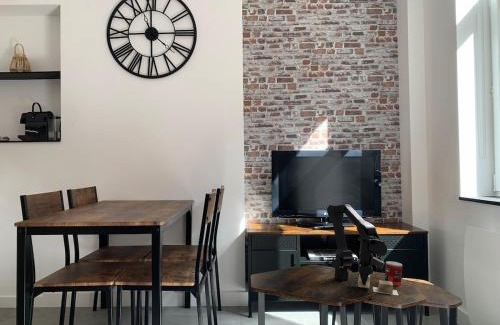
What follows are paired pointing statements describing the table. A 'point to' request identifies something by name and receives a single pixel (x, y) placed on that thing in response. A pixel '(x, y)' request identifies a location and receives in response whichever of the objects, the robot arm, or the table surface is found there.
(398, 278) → the canned food
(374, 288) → the build mat
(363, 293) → the table surface
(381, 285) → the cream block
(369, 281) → the oak cube
